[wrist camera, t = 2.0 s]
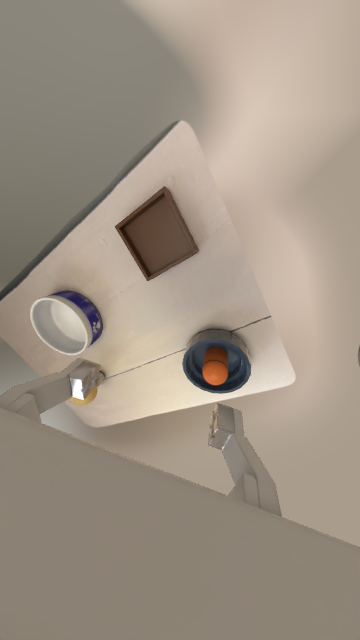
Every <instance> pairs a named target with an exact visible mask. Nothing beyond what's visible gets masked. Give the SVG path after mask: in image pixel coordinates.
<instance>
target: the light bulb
mask: <svg viewBox="0 0 360 640" xmlns="http://www.w3.org/2000/svg"><path fill="white" fill-rule="evenodd" d="M100 373H101V372H100ZM103 380H104V375H103V374H102V373H101V378H100V381H99V383H98V384H97V385H96V387H94V388H92V389H91V392H90V394H89V395H88V396H87V397H86V398H85V399H84V400H82V399H79V398H75V397H71V400H72V401H73V402H74V403H75V404H77V405H81V406H83V405H87V404H89V403H90V402H92V401H93V400H94V398H95V397H96V394H97V387H98V386H99V385H100V384H101V383H102V381H103Z"/></svg>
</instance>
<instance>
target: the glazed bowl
mask: <svg viewBox="0 0 360 640" xmlns="http://www.w3.org/2000/svg"><path fill="white" fill-rule="evenodd" d="M211 347H220V348H222V349H224V350H225V351H226V352H227V355H228V377H227V379H226V381H225V382H224V383H222V384H220V385H212V384H209V383H208V382H207V381H206V380H205V379H204V377H203V373H202V368H203V363H204V357H205V353H206V351H207V350H208V349H209V348H211ZM183 370H184V372H185V374H186V376H187V378H188V379H189V380H190V381H191V382H192V383H193V384H194V385H195V386H197V387H199V388H200V389H202V390H205V391H208V392H211V393H221V394H222V393H229V392H233V391H235V390H237V389H240V388H241V387H242V386H243V385H244V384H245V383H246V382H247V381H248V379H249V377H250V375H251V363H250V359H249V354H248V351H247V348H246V345H245V344H244V343H243V342H242V340H241V339H240V338H239V337H237V336H236V335H234V334H232V333H231V332H228V331H224V330H219V329H217V330H206V331H203V332H200V333H198V334H197V335H196V336H194V337H193V338H192V339H191V341H190V342H189V344H188V346H187V349H186V352H185V355H184V358H183Z"/></svg>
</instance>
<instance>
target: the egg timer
mask: <svg viewBox="0 0 360 640" xmlns="http://www.w3.org/2000/svg"><path fill="white" fill-rule="evenodd" d="M202 373H203V377H204V379H205V380H206V381H207V382H208V383H209V384H212V385H220V384H222V383H224V382H225V381H226V379H227V377H228V355H227V352H226V351H225V350H224V349H222V348H220V347H211V348H209V349H208V350H207V351H206V353H205V357H204V363H203V368H202Z"/></svg>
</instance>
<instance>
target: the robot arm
mask: <svg viewBox="0 0 360 640" xmlns="http://www.w3.org/2000/svg"><path fill="white" fill-rule="evenodd" d="M100 369H101V365H99V364H97V363H94V362H91V361H88V360H85V359H82V358H78V359H76V360H75V361H74V362H73V363H71V364H70V365H69V366H68V367H67V368H65V369H64V370H63V371H62V372H60V373H54V374H51V375H48V376H45V377H42V378H39V379H36V380H33V381H30V382H26V383H24V384H20V385H17V386H14V387H12V388H11V389H9V390H8V391H7V392H5V393H4V394H2V395H1V396H0V640H360V547H358V546H355V545H353V544H350V543H348V542H345V541H342V540H340V539H337V538H335V537H332V536H330V535H327V534H324V533H322V532H319V531H317V530H314V529H312V528H309V527H306V526H304V525H301V524H299V523H296V522H294V521H291V520H288V519H286V518H283V517H282V515H281V511H280V505H279V500H278V496H277V491H276V486H275V483H274V481H273V479H272V478H271V476H270V475H269V473H268V471H267V470H266V468H265V467H264V465H263V463H262V462H261V460H260V458H259V457H258V455H257V454H256V452H255V450H254V449H253V447H252V446H251V444H250V443H249V441H248V439H247V438H246V437H244V430H243V421H242V412H241V411H240V410H237V409H234V408H231V407H228V406H225V405H222V404H218V403H217V404H216V406H215V411H213V413H212V416H211V420H210V429H211V431H210V433H209V442H208V445H209V446H212V447H215V448H217V449H220V450H222V453H223V455H224V458H225V460H226V462H227V465H228V467H229V470H230V473H231V475H232V478H233V480H234V483H235V487H234V488H233V489H232V491H231V492H230V493H229V495H228V496H226V495H224V494H222V493H219V492H217V491H214V490H211V489H209V488H206V487H204V486H201V485H199V484H196V483H193V482H191V481H188V480H186V479H183V478H181V477H178V476H175V475H173V474H170V473H168V472H165V471H163V470H160V469H157V468H155V467H152V466H150V465H147V464H145V463H142V462H140V461H137V460H134V459H132V458H129V457H127V456H124V455H122V454H119V453H116V452H114V451H111V450H109V449H106V448H103V447H101V446H98V445H96V444H93V443H91V442H88V441H86V440H83V439H80V438H78V437H75V436H73V435H70V434H67V433H65V432H62V431H60V430H57V429H55V428H52V427H50V426H47V425H45V424H42V423H41V418H40V414H41V413H42V412H44V411H46V410H48V409H50V408H52V407H54V406H56V405H57V404H60V403H62V402H63V401H65V400H67V399H69V398H71V397H75V398H79V399H82V400H84V399H85V398H86V397H87V396H88V395H89V394H90V392H91V389H92V388H94V387H96V385H97V384H98V383H99V381H100V378H101V373H100V371H99V370H100Z"/></svg>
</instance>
